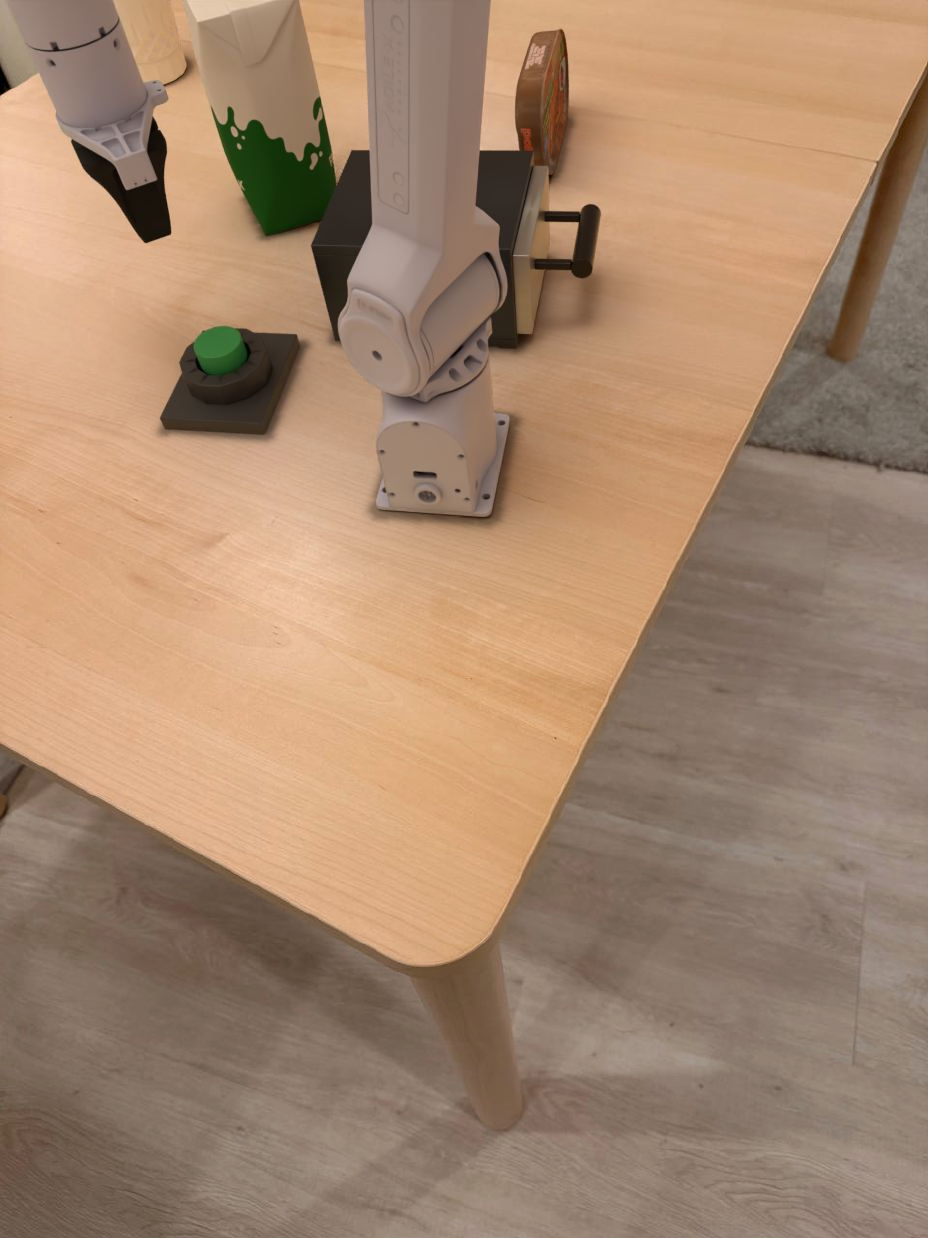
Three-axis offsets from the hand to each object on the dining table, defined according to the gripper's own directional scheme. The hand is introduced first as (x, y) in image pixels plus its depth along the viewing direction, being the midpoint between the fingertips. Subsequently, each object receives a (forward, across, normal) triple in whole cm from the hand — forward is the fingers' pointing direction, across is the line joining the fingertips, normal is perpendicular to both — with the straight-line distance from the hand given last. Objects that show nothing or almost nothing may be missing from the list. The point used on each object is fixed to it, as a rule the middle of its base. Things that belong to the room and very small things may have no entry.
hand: (156, 234), depth 66 cm
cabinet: (+10, -4, -19) cm, 22 cm away
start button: (+8, -6, -1) cm, 10 cm away
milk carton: (+11, +15, -13) cm, 23 cm away
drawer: (+9, -6, -22) cm, 25 cm away
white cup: (+11, +49, -9) cm, 51 cm away
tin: (+11, +10, -37) cm, 40 cm away
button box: (+10, -6, -1) cm, 12 cm away
